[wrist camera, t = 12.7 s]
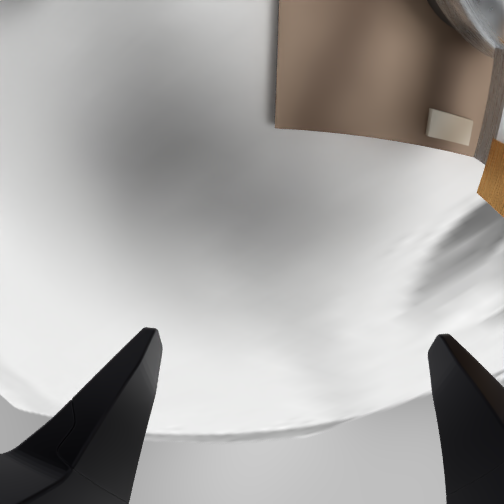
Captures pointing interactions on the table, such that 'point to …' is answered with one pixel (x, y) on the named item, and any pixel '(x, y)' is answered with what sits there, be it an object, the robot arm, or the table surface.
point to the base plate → (380, 73)
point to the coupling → (500, 91)
